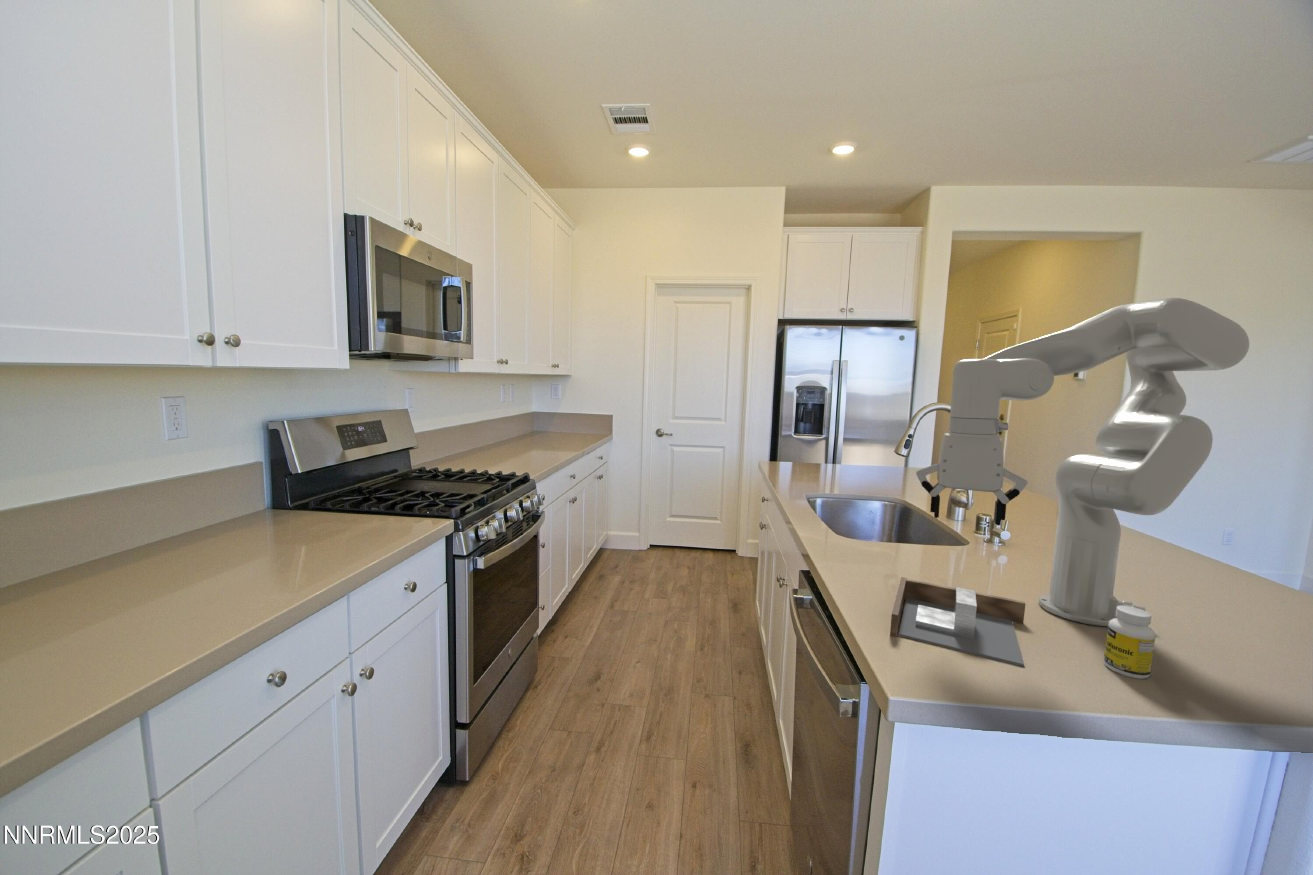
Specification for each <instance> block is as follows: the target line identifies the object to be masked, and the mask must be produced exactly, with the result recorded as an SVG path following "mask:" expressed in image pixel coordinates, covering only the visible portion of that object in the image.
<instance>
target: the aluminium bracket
mask: <svg viewBox="0 0 1313 875" xmlns="http://www.w3.org/2000/svg"><path fill="white" fill-rule="evenodd" d="M975 592H976V590H973V589H967V588H963V587H957V586H956V596H955V607H954V612H949V611H945V610H940V609H936V608H931V607H927V606H922V605H918V610H917V616H916V623H915V626H918V627H922V628H927V629H931V630H935V631H939V632H944V633H948V634H952V635H956V636H960V637H965V638H969V639H974V629H975V619H976V609H977V604H976V594H975Z"/></svg>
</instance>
